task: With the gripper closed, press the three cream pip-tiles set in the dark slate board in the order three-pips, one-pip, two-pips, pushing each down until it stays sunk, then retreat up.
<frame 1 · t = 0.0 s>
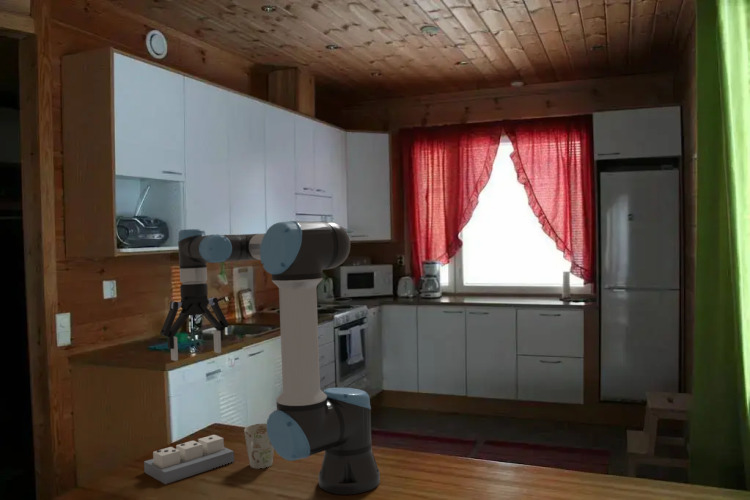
hand: (196, 356, 176), 28 cm above the table, fingers open, 13 cm apart
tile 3: (166, 458, 161), point 4 cm above the table, slide at 0.0 cm
board: (190, 467, 165), on the table
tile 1: (211, 445, 170), point 4 cm above the table, slide at 0.0 cm
mug: (259, 468, 163), on the table
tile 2: (189, 451, 165), point 4 cm above the table, slide at 0.0 cm
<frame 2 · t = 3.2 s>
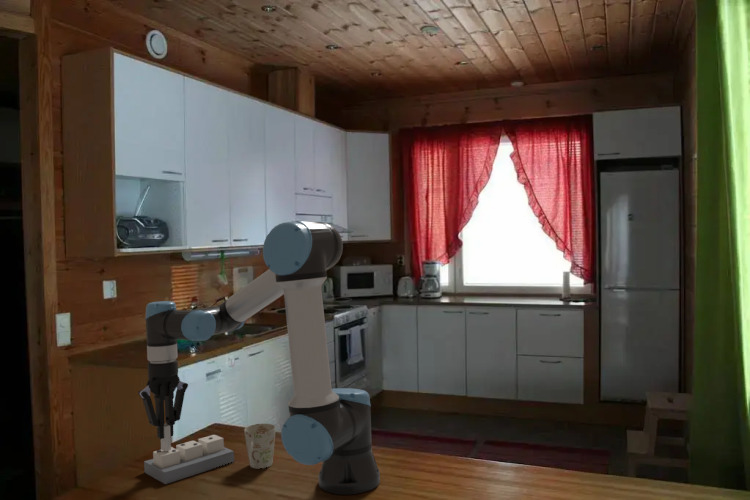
hand: (166, 449, 161), 7 cm above the table, fingers closed
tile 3: (166, 458, 161), point 4 cm above the table, slide at 0.0 cm, touching gripper
everything else where it was.
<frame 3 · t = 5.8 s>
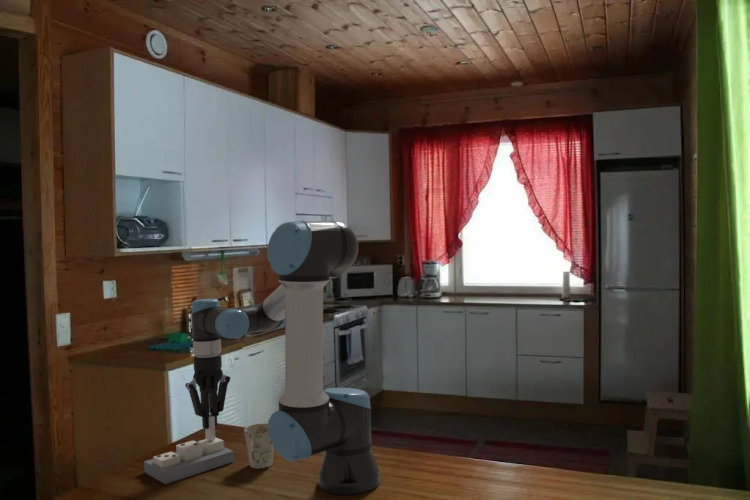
hand: (210, 439, 170), 6 cm above the table, fingers closed
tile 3: (166, 462, 161), point 3 cm above the table, slide at 1.3 cm
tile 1: (211, 447, 170), point 4 cm above the table, slide at 0.6 cm, touching gripper
everything else where it was.
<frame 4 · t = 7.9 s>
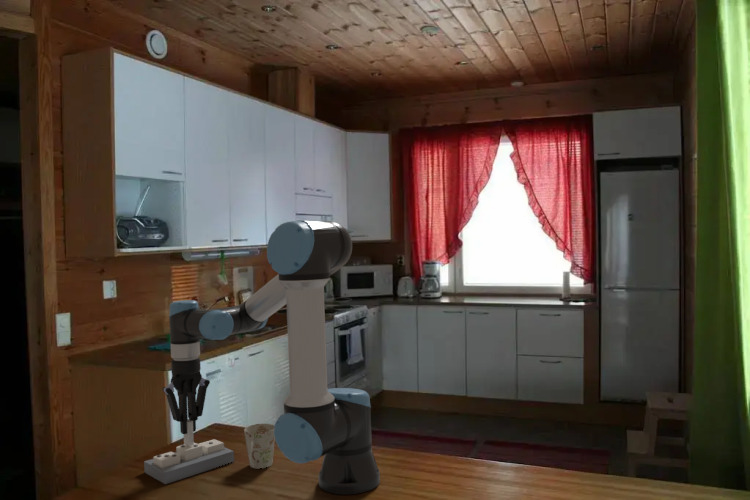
hand: (188, 444, 165), 6 cm above the table, fingers closed
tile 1: (211, 449, 170), point 3 cm above the table, slide at 1.3 cm
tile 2: (189, 452, 165), point 4 cm above the table, slide at 0.4 cm, touching gripper
everything else where it was.
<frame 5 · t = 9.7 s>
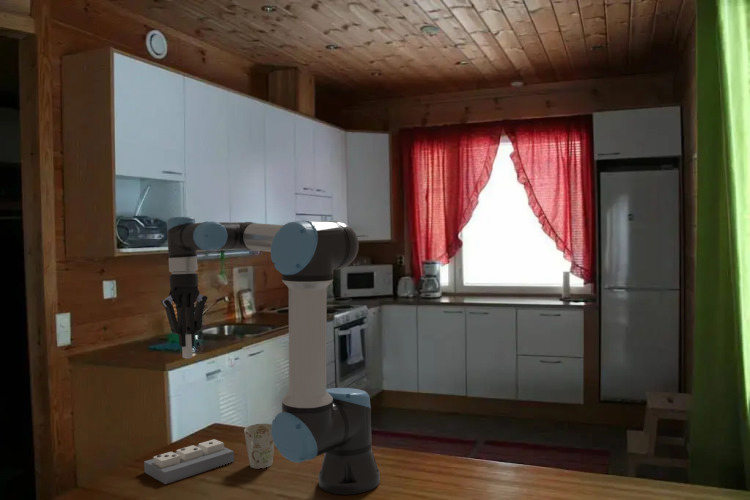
hand: (187, 357, 169), 29 cm above the table, fingers closed
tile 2: (189, 456, 165), point 3 cm above the table, slide at 1.3 cm
everything else where it was.
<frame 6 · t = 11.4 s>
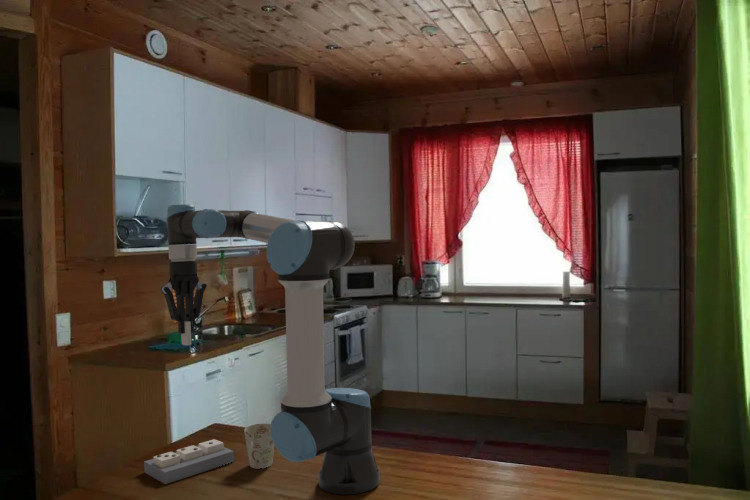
hand: (186, 344, 170), 32 cm above the table, fingers closed
nothing on the table moved.
at the end: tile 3 slide at 1.3 cm; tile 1 slide at 1.3 cm; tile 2 slide at 1.3 cm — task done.
